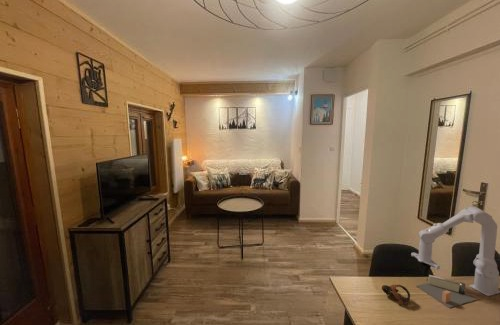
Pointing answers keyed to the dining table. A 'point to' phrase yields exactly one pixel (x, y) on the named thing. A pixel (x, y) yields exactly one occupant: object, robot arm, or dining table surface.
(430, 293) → the mat
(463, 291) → the gate post
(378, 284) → the dining table surface
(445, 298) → the block
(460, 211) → the robot arm
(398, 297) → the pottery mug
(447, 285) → the bar
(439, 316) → the dining table surface
